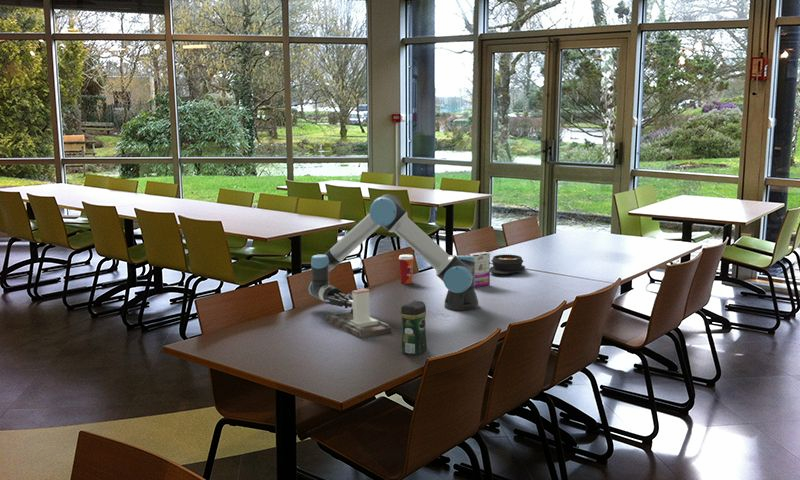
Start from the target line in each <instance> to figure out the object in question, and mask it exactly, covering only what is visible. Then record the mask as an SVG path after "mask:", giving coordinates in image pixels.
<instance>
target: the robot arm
mask: <svg viewBox="0 0 800 480" xmlns="http://www.w3.org/2000/svg"><path fill="white" fill-rule="evenodd" d="M402 206H403V205H402V203H401V200H400V199H399V198H398V196H396V195H395V194H391V193H386V194H383V195H381V196H378V197H377V198H375V199H374V200H373V202H372V203H371V205H370V207H369V213H368V214H367V215H366V216H365V217H364V218H362V219H361V220H360V221H359V222H358V223H357V224H356V225H354V227H352V228H351V230H349V231H348V232H347V233H346V234H345V235H344V236H343V237H342V238H341V239H340V240H338V241H337V242H336V243H335V244H334V245H333V246H332V247H331V248H330V249H328V250H327V251H326V252H325V253H324V254H319V253H318V254H315V255H312V256H311V259H310V261H311V263H310V266H311V281H310V283H309V286H308V293H309V294H310V295H311V296H312V297H314V298H315V299H318V300H320V301H323V302H325V304H326V305H327V304H328V305H331V306H336V307H339V308H343V307H344V309H348V308H349V309H353V293H352V292H350V293H348V294H346V293H343V291H341V289H340V288H338V287H335V286H333V285H330V272H331V271H332V270H334V269H335V268H336V267H337V265H339V264H340V263H341V262H342V261H344V259H346V258H347V257H348V256H349V255H350V254H351V253H352V252H353V251H354V250H356V249H357V248H358V247H359V246H360V245H361V244H362V243H364V242H365V241H366V240H367V239H368V238H369V237H370V236H371V235H372V234H374V233H375V232H376V231H377V230H378V229H379V228H380V227H382V228H383V229H385V230H386V231H387V232H388V233H395V234H396V235H397V236H398V237H399V238H400V239H401V240H402V242H403V241H404V243H406V244H407V245H408V246H409V247H410V248H411V249H412V250H413V251H414V252H416V253H417V255H419V256H420V257H421V258H422V259H423V260H425V262H426V263H428V264H429V265H430V266H431V267H432V268H433V269H434V270H435V273H436V276H437V277H438V278H439V279H440V280H441V281H442V282H443V284H444V286H445V288H446V289H448V290H447V293H446V295H445V299H444V308H446V309H448V310H452V311H463V312H464V311H472V310H475V309H478V308H479V298H478V296H477V293H476V287H475V258H474V257H473V256H466V255H455V254H452V255H451V254H449V253H448V252H446V251H445V249H443V248H442V247H441V246H440V245H439V244H438V243H437V242H435V240H433V239H432V238H431V237H430V236H429V235H428V234H427V233H426V232H424V230H422V229H421V228H420V227H419V226H418V225H417V224H416V223H415V222H414V221H412V220H411V219H410V218H409V217H408V211H407V210H406V209H404V208H403V207H402Z"/></svg>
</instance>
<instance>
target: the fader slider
mask: <svg viewBox="0 0 800 480" xmlns="http://www.w3.org/2000/svg"><path fill="white" fill-rule="evenodd" d="M370 291H371V290H370V289H368V288H359V289H355V290H352V291H351V294H352V295H353V320H350V323H353V324H355V325H357V326H359V327H366V326H371V325H376V324H378V320H379V319H377V318H375V319H373V318H374V317H372V316H370V315H371V314H370V313H371V312H370V311H371V310H370V307H371V306H370V304H371V303H370V293H371V292H370ZM371 317H372V318H371ZM376 319H377V320H376Z"/></svg>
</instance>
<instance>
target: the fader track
mask: <svg viewBox="0 0 800 480" xmlns="http://www.w3.org/2000/svg"><path fill="white" fill-rule="evenodd" d="M370 317H371V318H373V319H376V320H378V324H376V325H371V326H366V327H359V326H357V325H355V324H353V323H350V320H353V309H352V308H350V311H347V312H342V313H337V314H336V313H335V314H334V313H331V312H327V315H326V316H325V321H326V322H327V323H329V324H332V325H334V326H336V327H337V328H339V329H341V330H344V331H346V332H348V333H350V334H352V335H353V336H356V337H357V338H359V339H363V338H368V337H375V336H380V335H386V334H390V333H393V332H392V330H393V329H392V327H391V326H390V324H388V323H386V322H383V321H381V320H379V319H377V318H374V317H372V316H370Z"/></svg>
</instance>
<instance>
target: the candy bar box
mask: <svg viewBox="0 0 800 480" xmlns="http://www.w3.org/2000/svg"><path fill="white" fill-rule="evenodd" d="M490 255H491V254H490V252H487V251H481V252H473V253H472V252H471V253H466V254H465V256H473V257H474V258H475V288H480V287H487V286H491V282H490V281H491V278H490V276H491V272H490V268H491V266H490V262H491V260H490V257H491V256H490Z"/></svg>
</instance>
